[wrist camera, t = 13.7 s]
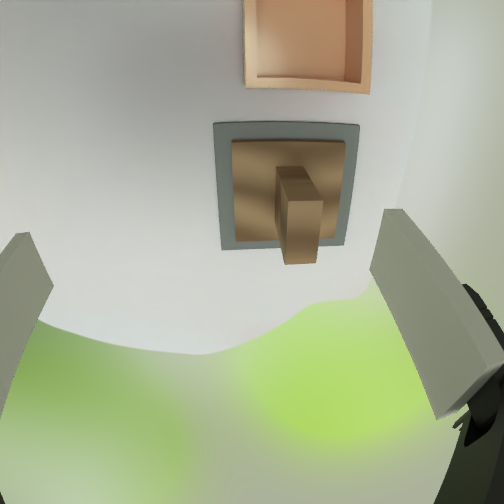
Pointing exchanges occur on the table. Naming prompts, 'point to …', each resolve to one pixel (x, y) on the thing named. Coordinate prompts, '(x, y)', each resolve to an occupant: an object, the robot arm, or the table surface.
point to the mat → (279, 131)
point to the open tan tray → (308, 44)
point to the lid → (287, 193)
